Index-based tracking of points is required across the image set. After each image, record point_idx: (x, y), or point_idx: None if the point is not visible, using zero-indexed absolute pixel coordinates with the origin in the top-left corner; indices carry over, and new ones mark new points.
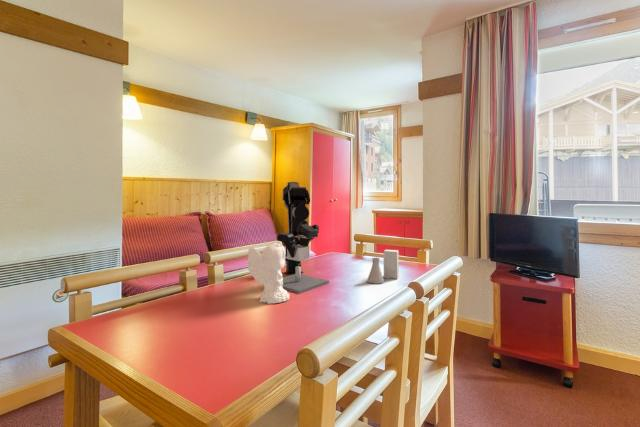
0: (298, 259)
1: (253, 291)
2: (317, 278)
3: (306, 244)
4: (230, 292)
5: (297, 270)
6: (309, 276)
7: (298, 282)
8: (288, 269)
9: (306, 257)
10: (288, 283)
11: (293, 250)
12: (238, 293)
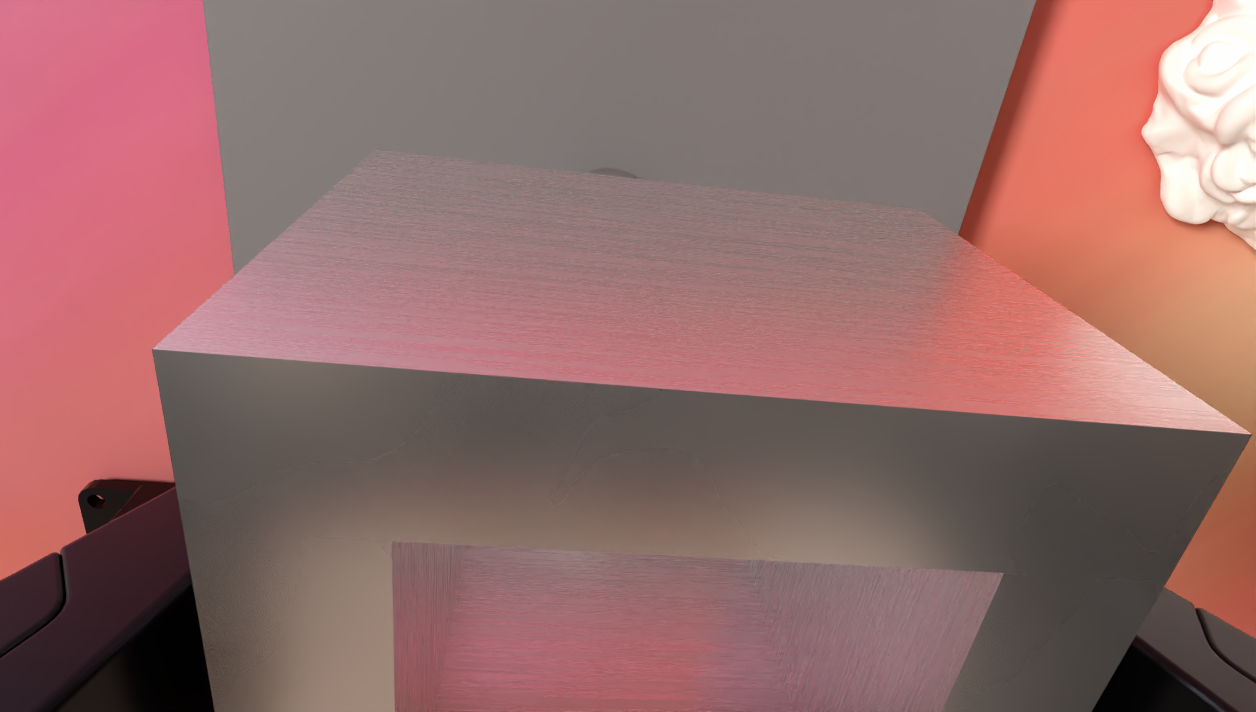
0: (943, 235)
1: None
2: (236, 16)
3: (85, 679)
4: (1235, 595)
5: None
6: (243, 228)
7: (660, 169)
8: None
9: (528, 183)
10: None
11: None
12: (1251, 522)
